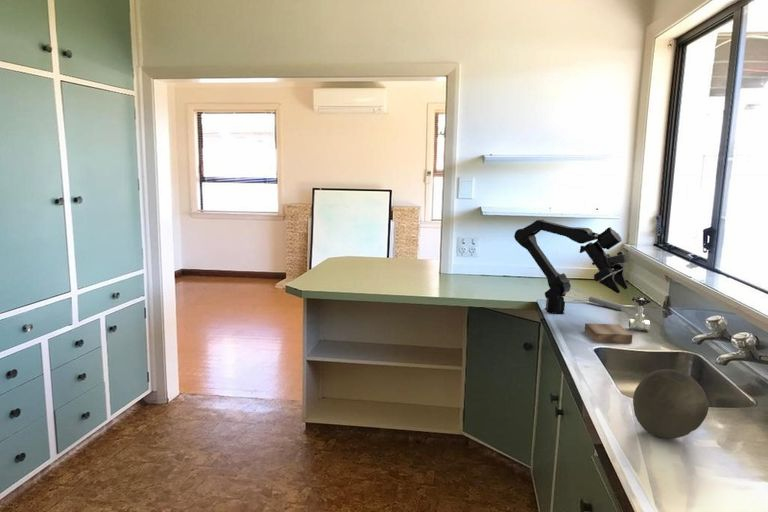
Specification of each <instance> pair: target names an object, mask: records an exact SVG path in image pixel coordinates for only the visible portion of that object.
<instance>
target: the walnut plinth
mask: <svg viewBox="0 0 768 512" xmlns="http://www.w3.org/2000/svg"><path fill="white" fill-rule="evenodd" d="M584 332H585V334H587V335H588V336H589V337H590V339H592V340H593V341H594V342H595V343H613V344H615V343H617V344H632V343H633V334H632V333H631V332H629V331H628V330H627V329H625V328H624V327H623V326H621V324H617V323H615V324H614V323H611V324H610V323H584Z"/></svg>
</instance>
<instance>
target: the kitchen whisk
mask: <svg viewBox="0 0 768 512" xmlns="http://www.w3.org/2000/svg"><path fill="white" fill-rule="evenodd" d="M573 287H574V286H572V285H571V287H570V290H574V291H576V292H579V293H581V294H583V293H584V295H581V294H578V293H574V292H571V291H570V292H568V294H569V295H573V296H574V295H575V296H577V298H575V302H576V301H579V302H580V301H581V302H584V301H588V302H589V303H593V304H597V305H599V306H602V307H606V308H609V309H612V310H616V311H623V310H624V308H626V306H625V305H623V304H621V303H618V302H614V301H612V300H611V301H610V300H607V299H603V298H600V297H596V296H593V295H588V294H587V293H586V292H584V291H583V290H581V289H578V290H577V288H573ZM585 295H587V296H585ZM578 296H579V297H580V298H579V297H578ZM566 297H567V298H569V296H567V295H565V296H563V298H566ZM570 298H571V299H574V297H571V296H570ZM581 298H583V299H581ZM626 311H628V308H626Z"/></svg>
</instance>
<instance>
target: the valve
mask: <svg viewBox="0 0 768 512" xmlns="http://www.w3.org/2000/svg"><path fill="white" fill-rule="evenodd" d="M631 301H632V302H636V303H637V305H638V308H637V313H636V314H635V319H634V318H630V319H628V323H627V324H628V329H629V330H636V331H650V328H651V322H650V320H648V319H645V314H644V308H643V307H644V306H646V305H648V304H651V302H652V299H651V298H648V297H642V296H632V298H631Z"/></svg>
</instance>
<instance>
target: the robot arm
mask: <svg viewBox="0 0 768 512" xmlns="http://www.w3.org/2000/svg"><path fill="white" fill-rule="evenodd" d="M541 231H543V232H548V233H551V234H556V235H557V236H562V237H566V238H568V239H569V240H571V241H573V242H576V243H577V244H585V245H580V250H579V254H583V253H586V255H588V257H589V259H590V260H591V265H593V266H595V267H596V268H597V270H598V272H596V273H594V274H593V280H595V282H598V283H599V284H601V285H603V286H604V287H607V288H608V289H610V290H611V291H613V292H615V294H620V293H621V290H620V288H619V286H620V287H621V288H623V289H624V290H627V289H628V285H627V282H626V279H625V276H624V273H625V270H626V266H625V265H624V263H626V262H629V260H628V257H629V256H628V255H627V253H626V252H624V251H622V250H621V251H619V252H617V254H616V255H611V254H610V253H606V251H605V249H606V250H608V251H609V250H610V249H612V248H613V247H615V246H616V245H619V243H621V242H623V241H622V237H621V236H620V234H619V233H618V232H616V231H615V230H614V229H613V228H612V227H611V226H609V227H607V228H606V229H605V230H604V231H602V232H601V233H597V232H594V231H593V230H592V229H591V228H589V227H581V226H579V227H578V226H576V227H575V226H567V225H563V224H561V223H560V224H559V223H556V222H551V221H547V220H544V219H536V220H534V222H532V223H531V224H529V225H527V226H525V227H524V228H523V227H522V228H518V229H517V230H515V232H514V235H513V237H514V240H515V241H516V243H518V244H519V245H520V246H521V247H523V248H524V249H525V250H526V251H527V252H528V253H529V255H530V256H531V257H532V258H533V260H534V262H535V263H536V265H537V266H538V267H539V269H540V270H541V272H542V273H543V274H544V276H545V277H546V280H547V285H548V287H549V289H548V290H547V291H545V292H544V296H545V298H546V299H545V300H546V301H545V302H546V303H545V307H544V310H545V312H546V313H548V314H561V315H562V314H565V305H566V304H565V303H566V301H565V297H566V296H567V295H566V294H568V293H570V291H571V289H570V287H571V288H572V285H571V280H570V279H568V277H567V275H566V274H565V273H561V274H560V272H558V271H557V270H556V269H555V267H554V266H553V265H552V264H553V263H551V262H550V260H549V259H548V257H547V256H546V254H544V252H543V250H542V249H541V248H540V246H539V245H538V241H537V238H536V235H537V234H538V233H540V232H541ZM593 241H594V242H593ZM586 243H587V244H586ZM564 296H565V297H564Z"/></svg>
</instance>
